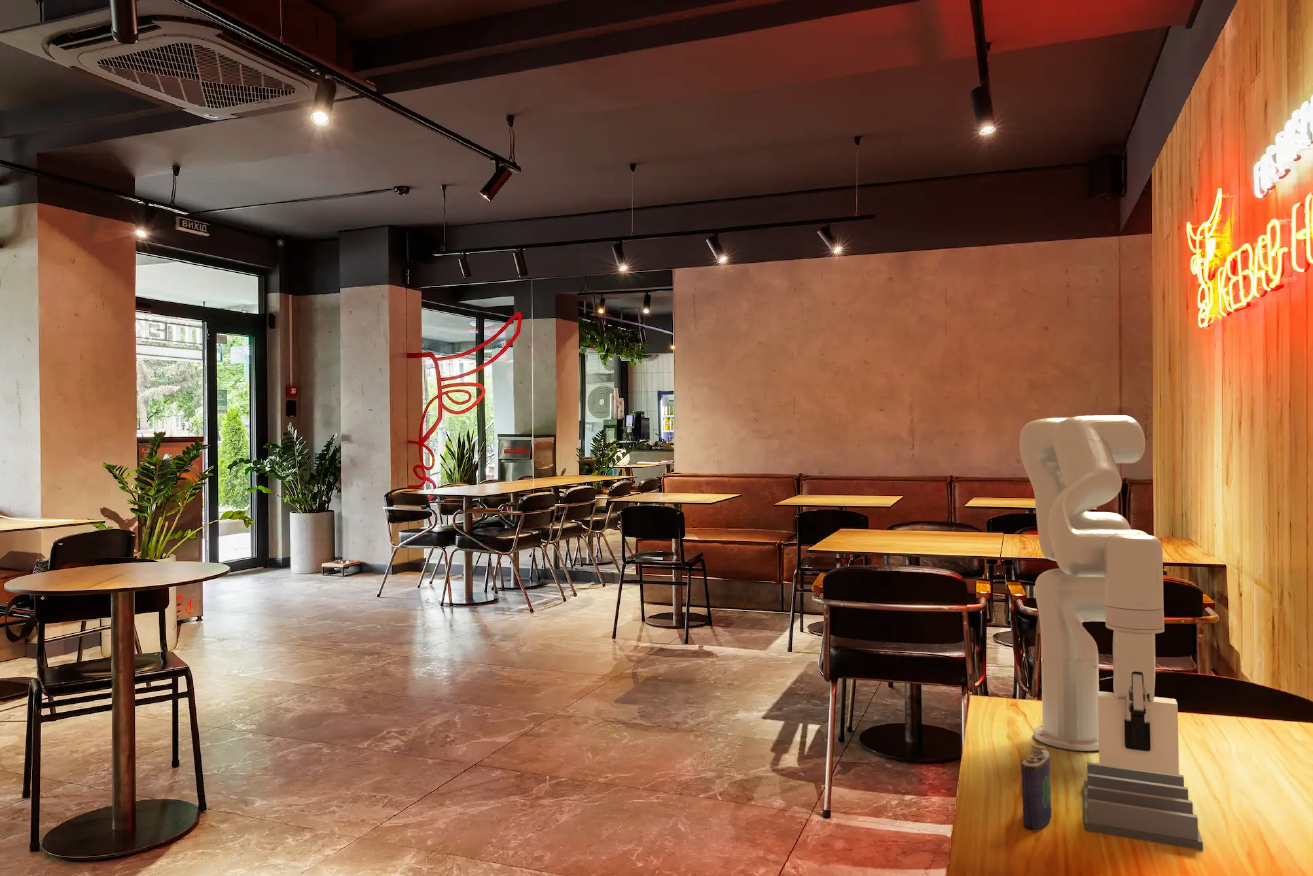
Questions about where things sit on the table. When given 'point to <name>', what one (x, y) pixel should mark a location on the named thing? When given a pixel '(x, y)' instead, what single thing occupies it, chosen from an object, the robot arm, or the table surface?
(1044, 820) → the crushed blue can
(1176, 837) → the rack
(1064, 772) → the table surface
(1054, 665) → the robot arm
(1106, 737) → the beige square block
